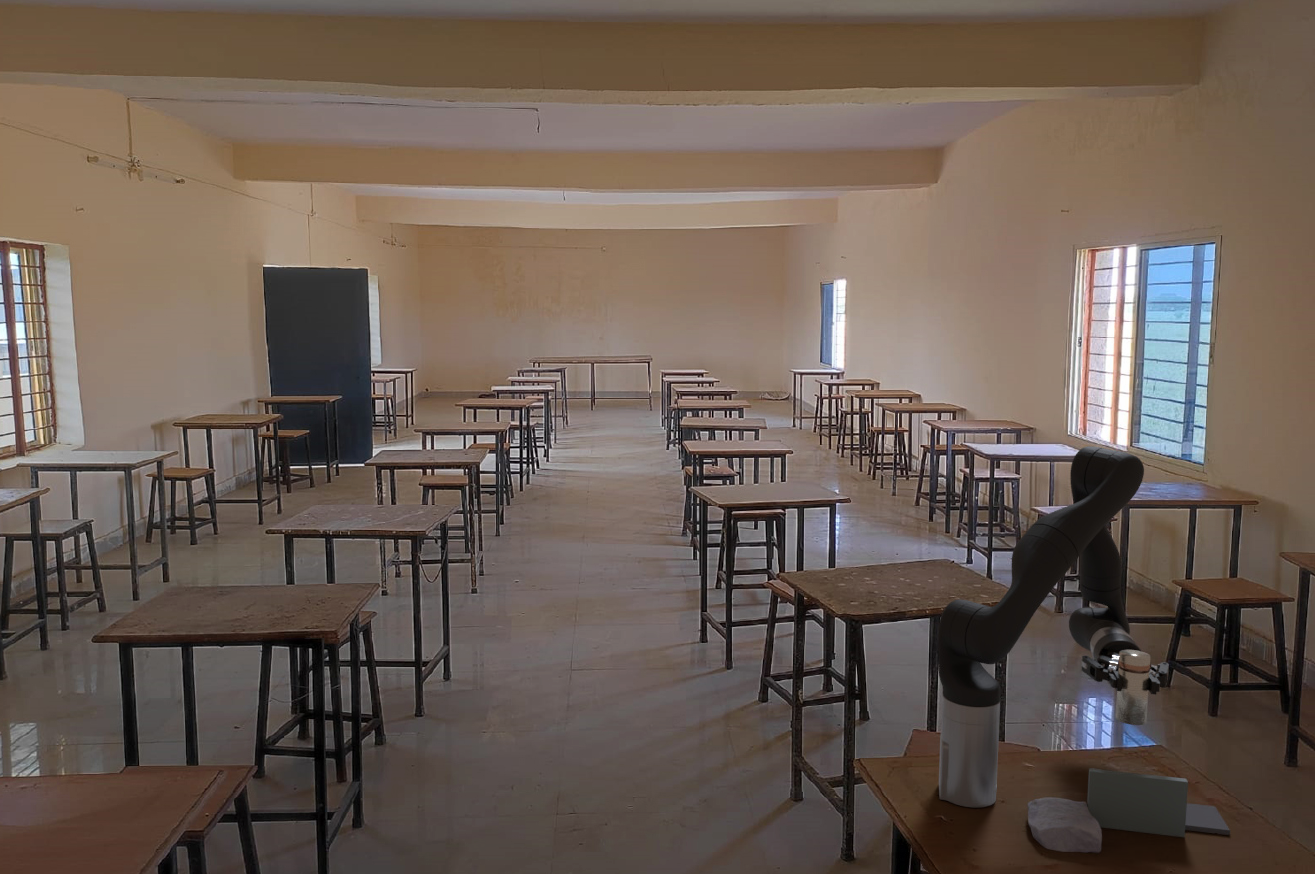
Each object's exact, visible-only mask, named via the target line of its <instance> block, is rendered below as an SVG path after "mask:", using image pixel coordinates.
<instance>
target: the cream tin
mask: <svg viewBox="0 0 1315 874" xmlns="http://www.w3.org/2000/svg"><path fill="white" fill-rule="evenodd" d="M1141 651H1142V650H1141ZM1141 651H1137V650H1122V651H1120V653H1119V664H1118V667H1119V669H1118V673H1119V674H1120V676H1121V677H1122V691H1116V704H1115V705H1116V707H1115V719H1116V720H1117V721H1118V722H1121V723H1123V724H1127V725H1132V726H1144V725H1146V724H1147V717H1148V716H1147V714H1148V704H1149V703H1148V701H1149V690H1148V687H1149V672H1150V663H1151V655H1150V654H1149V653H1146V652H1144V651H1142V652H1141Z"/></svg>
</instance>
